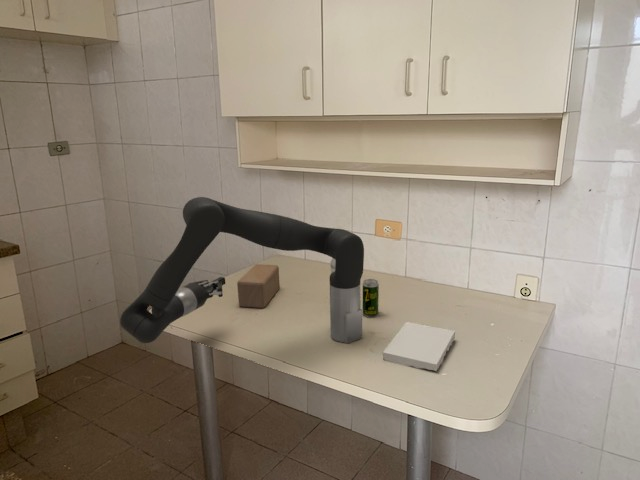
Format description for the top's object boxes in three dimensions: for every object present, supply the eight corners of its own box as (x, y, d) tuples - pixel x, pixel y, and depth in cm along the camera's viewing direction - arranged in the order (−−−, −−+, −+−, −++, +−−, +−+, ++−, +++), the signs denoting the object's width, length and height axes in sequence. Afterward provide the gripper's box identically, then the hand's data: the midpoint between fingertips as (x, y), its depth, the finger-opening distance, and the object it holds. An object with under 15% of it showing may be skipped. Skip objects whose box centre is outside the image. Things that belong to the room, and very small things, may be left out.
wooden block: (263, 282, 162) (279, 264, 180) (236, 281, 164) (254, 263, 182) (264, 309, 164) (280, 288, 183) (238, 307, 166) (256, 287, 185)
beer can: (361, 311, 160) (361, 279, 157) (377, 311, 161) (377, 278, 157) (363, 318, 155) (363, 284, 152) (379, 317, 155) (379, 284, 152)
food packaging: (436, 375, 123) (454, 341, 139) (436, 364, 122) (455, 331, 138) (383, 362, 130) (406, 331, 146) (382, 352, 129) (406, 321, 145)
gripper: (203, 291, 128) (239, 271, 143) (166, 284, 133) (205, 266, 148) (205, 316, 130) (241, 294, 145) (169, 308, 135) (207, 288, 150)
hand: (223, 280), depth 147 cm, fingers closed
